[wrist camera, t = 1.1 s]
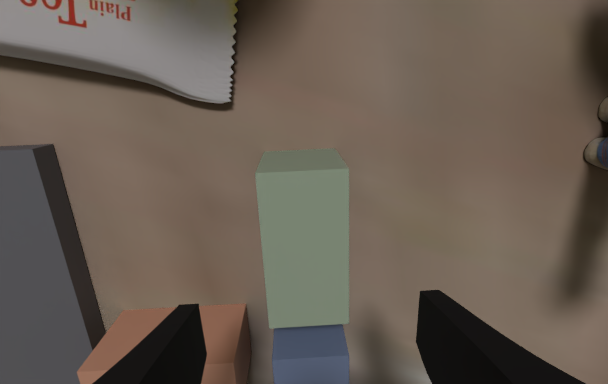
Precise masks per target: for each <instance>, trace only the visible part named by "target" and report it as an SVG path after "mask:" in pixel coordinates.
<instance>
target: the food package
mask: <svg viewBox="0 0 608 384" xmlns="http://www.w3.org/2000/svg"><path fill="white" fill-rule="evenodd" d="M237 1H238V0H0V55H3V56H9V57H16V58H22V59H28V60H34V61H39V62H45V63H51V64H56V65H62V66H67V67H72V68H78V69H83V70H88V71H93V72H98V73H103V74H108V75H113V76H118V77H123V78H128V79H132V80H137V81H141V82H146V83H149V84H152V85H155V86H158V87H161V88H163V89H166V90H168V91H170V92H173V93H175V94H177V95H180V96H183V97H186V98H189V99H193V100H198V101H203V102H209V103H225V102H231V100H230V99H229V97H231V96H232V95H231V94H229V92H231V91H232V90H231V89H230V88H229V87H231V86H233V85H232V84H231V83H230V82H231V81H232V80H233V79H232V78H231V77H230V76H231V75H232V74H233V73H234V72H233V70H232V69H231V66H232V65H233V64H234V61H233V60H232V58H231V56H232V55H233V54H234V53H235V51H234V50H233V48H232V46H233V45H234V44H235V43H236V42H235V40H234V39H233V37H232V36H233V35H234V34H235V33H236V30H235V28H234V27H233V26H234V24H235V23H236V22H237V20H236V18H235V17H234V14H235V13H236V12H237V11H238V9H237V8H236V6H235V3H236V2H237Z"/></svg>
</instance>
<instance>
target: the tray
mask: <svg viewBox="0 0 608 384" xmlns="http://www.w3.org/2000/svg"><path fill="white" fill-rule="evenodd" d="M105 334H106V333H105V330H104V326H103V322H102V319H101V315H100V312H99V308H98V304H97V301H96V297H95V294H94V290H93V286H92V283H91V279H90V276H89V272H88V269H87V265H86V261H85V258H84V254H83V251H82V247H81V243H80V240H79V236H78V233H77V229H76V225H75V222H74V218H73V215H72V211H71V208H70V204H69V200H68V197H67V193H66V190H65V186H64V182H63V179H62V175H61V172H60V168H59V164H58V161H57V157H56V154H55V150H54V146H53V144H45V145H23V146H2V147H0V384H80V381H79V378H78V375H77V371H78V370H79V368H80V367H81V366H82V364H83V363H84V362H85V360H86V359H87V358H88V356H89V355H90V354H91V352H92V351H93V350H94V348H95V347H96V346H97V344H98V343H99V342H100V340H101V339H102V338H103V337H104V335H105Z"/></svg>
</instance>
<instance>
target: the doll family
mask: <svg viewBox="0 0 608 384" xmlns="http://www.w3.org/2000/svg"><path fill="white" fill-rule="evenodd" d="M598 116H599V118H600V119H601V120H602V121H605V122H608V97H607V98H605V99H604V100H603V101H602V103H601V104H600V107H599V114H598ZM584 156H585V159H586V160H587V161H588V162H589V163H591V164H593V165H595V166H598V167H600V168H603V169H605V170H608V137H602V138H596V139H594V140H593V141H591V142H590V143H589V144H588V146H587V148H586V149H585V152H584Z"/></svg>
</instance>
